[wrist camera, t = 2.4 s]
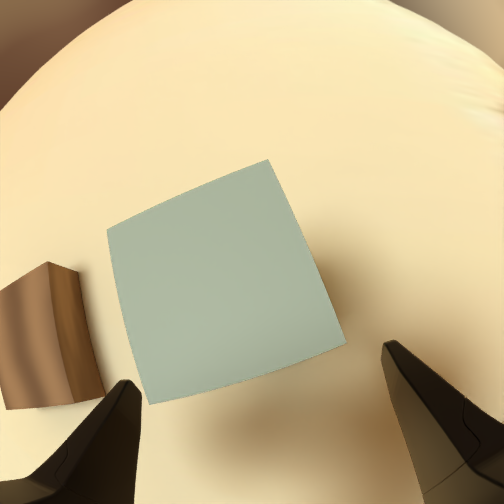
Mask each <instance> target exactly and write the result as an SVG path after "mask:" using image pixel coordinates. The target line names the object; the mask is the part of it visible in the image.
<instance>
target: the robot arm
mask: <svg viewBox="0 0 504 504" xmlns="http://www.w3.org/2000/svg"><path fill="white" fill-rule="evenodd" d="M381 362H382V366H383V370H384V374H385V378H386V382H387V386H388V390H389V394H390V398H391V401H392V404H393V407H394V410H395V413H396V415H397V418H398V421H399V424H400V426H401V429H402V432H403V435H404V438H405V441H406V444H407V446H408V449H409V452H410V456H411V459H412V462H413V465H414V468H415V471H416V474H417V478H418V481H419V484H420V488H421V491H422V494H423V499H424V502H425V504H504V424H502V423H500V422H499V421H497V420H496V419H494V418H493V417H491V416H490V415H488V414H487V413H485V412H484V411H482V410H481V409H480V408H479V407H477V406H476V405H475V404H474V403H472V402H471V401H470V400H469V399H468V398H465V396H464V395H463V394H461V393H460V392H459V391H458V390H457V389H455V388H454V387H453V386H452V385H451V384H449V383H448V382H447V381H446V380H444V379H443V378H442V377H441V376H440V375H438V374H437V373H436V372H435V371H433V370H432V369H431V368H430V367H429V366H427V365H426V364H425V363H424V362H422V361H421V360H420V359H419V358H417V357H416V356H415V355H414V354H412V353H411V352H410V351H409V350H408V349H406V348H405V347H404V346H403V345H401V344H400V343H399V342H398V341H396V340H391V341H387V342H384V344H383V348H382V355H381ZM141 408H142V395H141V392H140V390H139V389H138V388H137V387H136V386H135V384H134V383H133V382H132V381H131V380H120V381H119V382H118V383H117V384H116V385H115V386H114V387H113V388H112V390H111V391H110V392H109V393H108V394H107V395H106V396H105V397H104V398H103V399H102V401H101V402H100V403H99V404H98V405H97V406H96V407H95V408H94V409H93V411H92V412H91V413H90V414H89V415H88V416H87V417H86V418H85V419H84V420H83V422H82V423H81V424H80V425H79V426H78V427H77V428H76V429H75V431H74V432H73V433H72V434H71V435H70V436H69V437H68V438H67V440H65V442H64V443H63V444H62V445H61V446H60V447H59V448H58V449H57V450H56V451H55V452H54V453H53V454H52V455H51V456H50V457H49V458H48V459H47V460H46V461H45V462H44V463H43V464H42V465H41V466H40V467H39V468H37V469H36V470H35V471H34V472H33V473H32V474H31V475H29V476H27V477H25V478H22V479H16V480H9V481H1V482H0V504H134V495H135V482H136V470H137V460H138V451H139V442H140V434H141Z"/></svg>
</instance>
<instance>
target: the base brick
mask: <svg viewBox="0 0 504 504" xmlns="http://www.w3.org/2000/svg"><path fill="white" fill-rule="evenodd" d="M0 387H1V391H2V395H3V399H4V403H5V406H6V410H13V409H27V408H39V407H49V406H57V405H65V404H73V403H78V402H83V401H87V400H92V399H96V398H100V397H104V396H106V395H105V392H104V388H103V385H102V382H101V379H100V375H99V372H98V368H97V365H96V361H95V357H94V353H93V349H92V345H91V341H90V337H89V332H88V328H87V323H86V318H85V313H84V308H83V302H82V296H81V290H80V284H79V277H78V272H76V271H73V270H70V269H68V268H65V267H62V266H59V265H56V264H54V263H51V262H48V261H47V262H45V263H44V264H42V265H40V266H39V267H37V268H35V269H34V270H32V271H30V272H29V273H27V274H26V275H24V276H22V277H21V278H19V279H18V280H16V281H15V282H13V283H11V284H10V285H8V286H7V287H5V288H4V289H2V290H1V291H0Z"/></svg>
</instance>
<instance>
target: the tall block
mask: <svg viewBox="0 0 504 504" xmlns="http://www.w3.org/2000/svg"><path fill="white" fill-rule="evenodd" d="M107 236H108V243H109V249H110V255H111V261H112V267H113V272H114V278H115V283H116V288H117V293H118V297H119V302H120V306H121V311H122V315H123V319H124V323H125V327H126V331H127V335H128V338H129V342H130V346H131V349H132V353H133V356H134V360H135V363H136V366H137V369H138V373H139V376H140V379H141V382H142V385H143V388H144V391H145V394H146V397H147V399H148V402H149V405H151V404H156V403H161V402H166V401H170V400H175V399H179V398H183V397H188V396H192V395H196V394H200V393H203V392H207V391H211V390H215V389H218V388H222V387H225V386H229V385H232V384H236V383H239V382H242V381H246V380H249V379H252V378H255V377H258V376H261V375H264V374H267V373H270V372H273V371H276V370H279V369H282V368H285V367H287V366H290V365H293V364H296V363H298V362H301V361H304V360H306V359H309V358H312V357H314V356H317V355H319V354H322V353H324V352H327V351H329V350H331V349H334V348H336V347H339V346H341V345H343V344H346V343H347V342H346V340H345V337H344V334H343V332H342V329H341V326H340V324H339V321H338V319H337V316H336V313H335V311H334V308H333V306H332V303H331V301H330V298H329V296H328V293H327V291H326V288H325V286H324V283H323V281H322V279H321V276H320V274H319V271H318V269H317V267H316V264H315V262H314V259H313V257H312V255H311V252H310V250H309V248H308V245H307V243H306V241H305V238H304V236H303V234H302V232H301V229H300V227H299V225H298V223H297V220H296V218H295V216H294V214H293V211H292V209H291V207H290V205H289V203H288V200H287V198H286V196H285V194H284V192H283V190H282V187H281V185H280V183H279V181H278V179H277V177H276V175H275V173H274V171H273V168H272V166H271V164H270V162H269V160H268V159H267V160H265V161H262V162H259V163H257V164H254V165H251V166H249V167H246V168H243V169H241V170H238V171H236V172H233V173H231V174H228V175H226V176H223V177H221V178H218V179H216V180H213V181H211V182H209V183H206V184H204V185H201V186H199V187H197V188H194V189H192V190H190V191H187V192H185V193H183V194H181V195H178V196H176V197H174V198H172V199H169V200H167V201H165V202H163V203H161V204H158V205H156V206H154V207H152V208H150V209H148V210H146V211H144V212H141V213H139V214H137V215H135V216H133V217H131V218H129V219H127V220H125V221H123V222H121V223H119V224H117V225H115V226H113V227H111V228H109V229H107Z"/></svg>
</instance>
